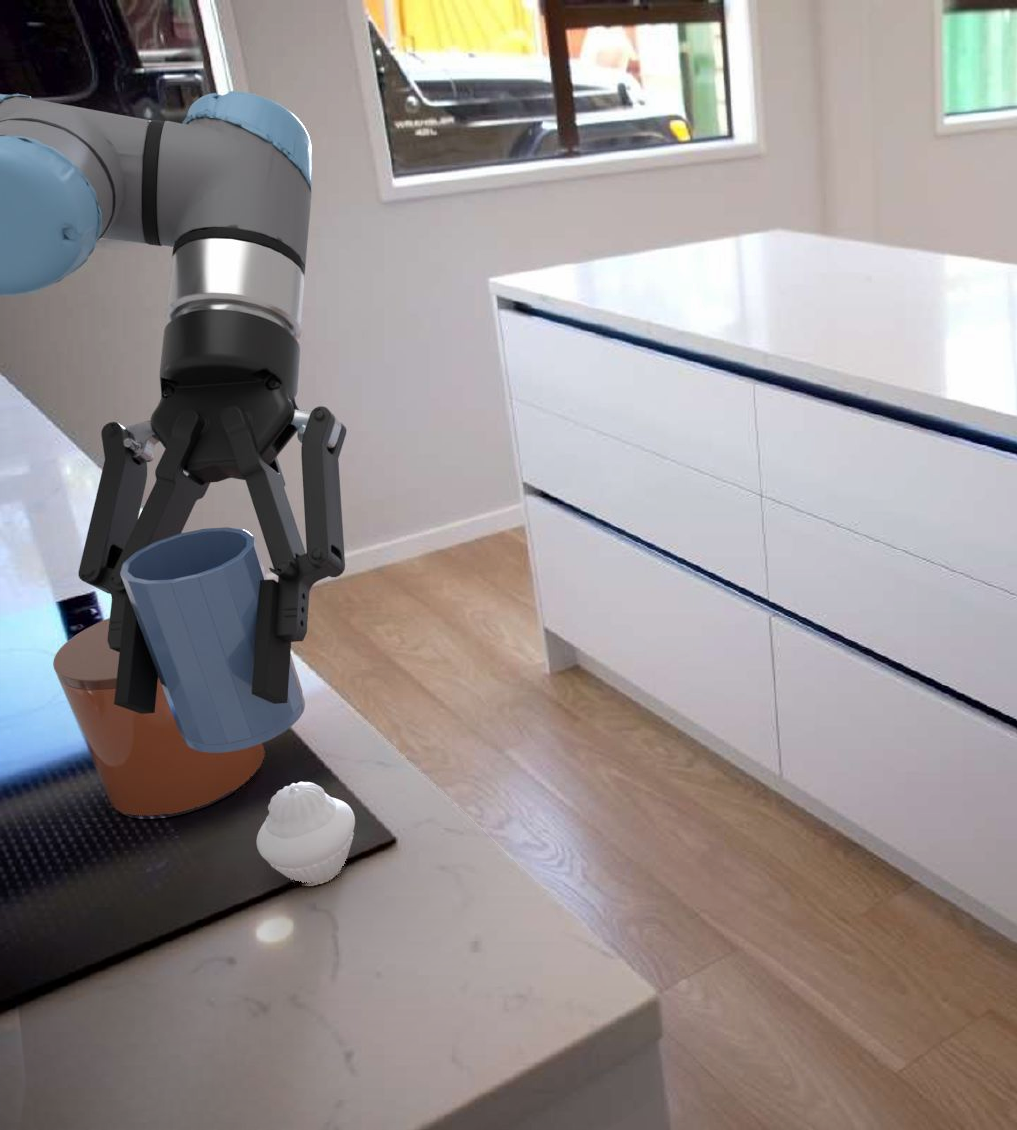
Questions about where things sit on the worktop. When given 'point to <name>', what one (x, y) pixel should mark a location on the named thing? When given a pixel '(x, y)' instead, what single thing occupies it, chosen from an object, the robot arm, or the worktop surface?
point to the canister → (141, 738)
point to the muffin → (306, 833)
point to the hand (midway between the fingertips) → (202, 702)
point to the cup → (208, 636)
